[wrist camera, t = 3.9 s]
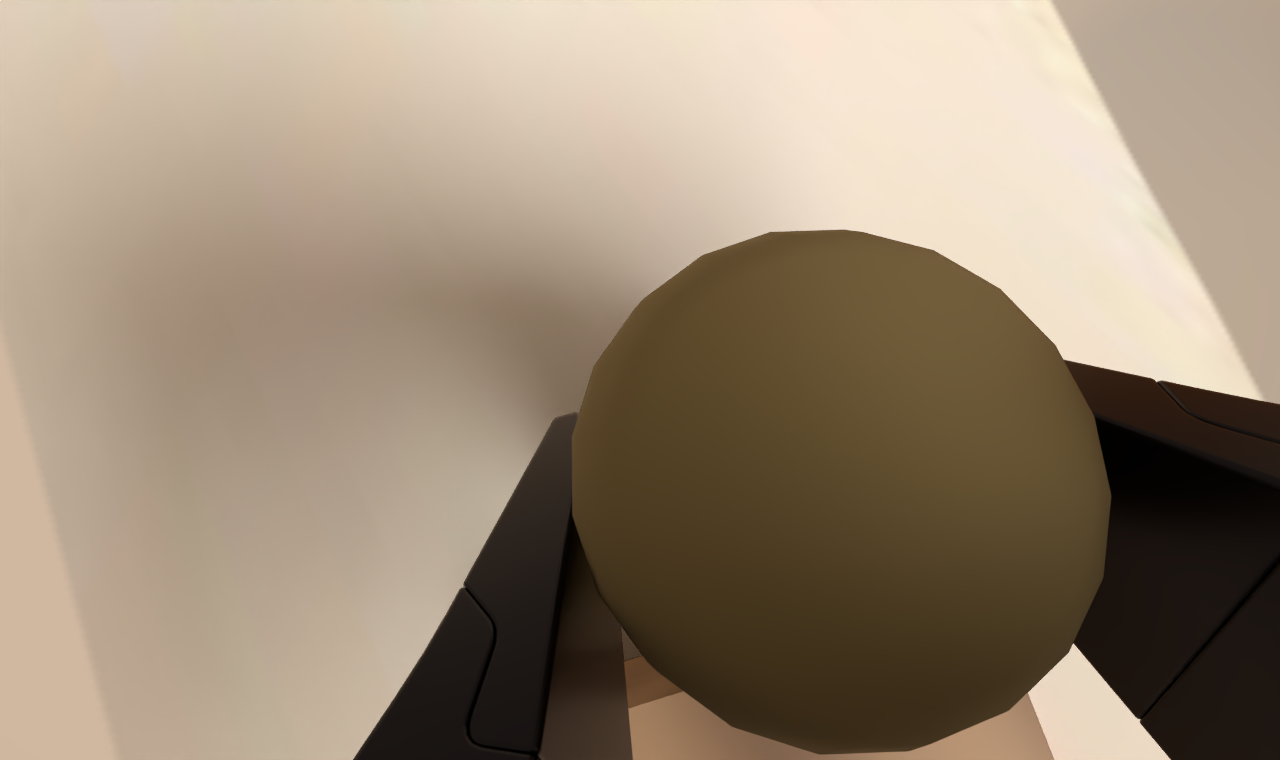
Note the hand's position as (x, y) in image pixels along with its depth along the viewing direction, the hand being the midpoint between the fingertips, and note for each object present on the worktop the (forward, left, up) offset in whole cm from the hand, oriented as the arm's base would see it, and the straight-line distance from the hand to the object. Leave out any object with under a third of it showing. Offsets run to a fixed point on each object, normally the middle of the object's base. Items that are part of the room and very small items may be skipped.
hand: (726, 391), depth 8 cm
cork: (-1, +1, -7) cm, 7 cm away
